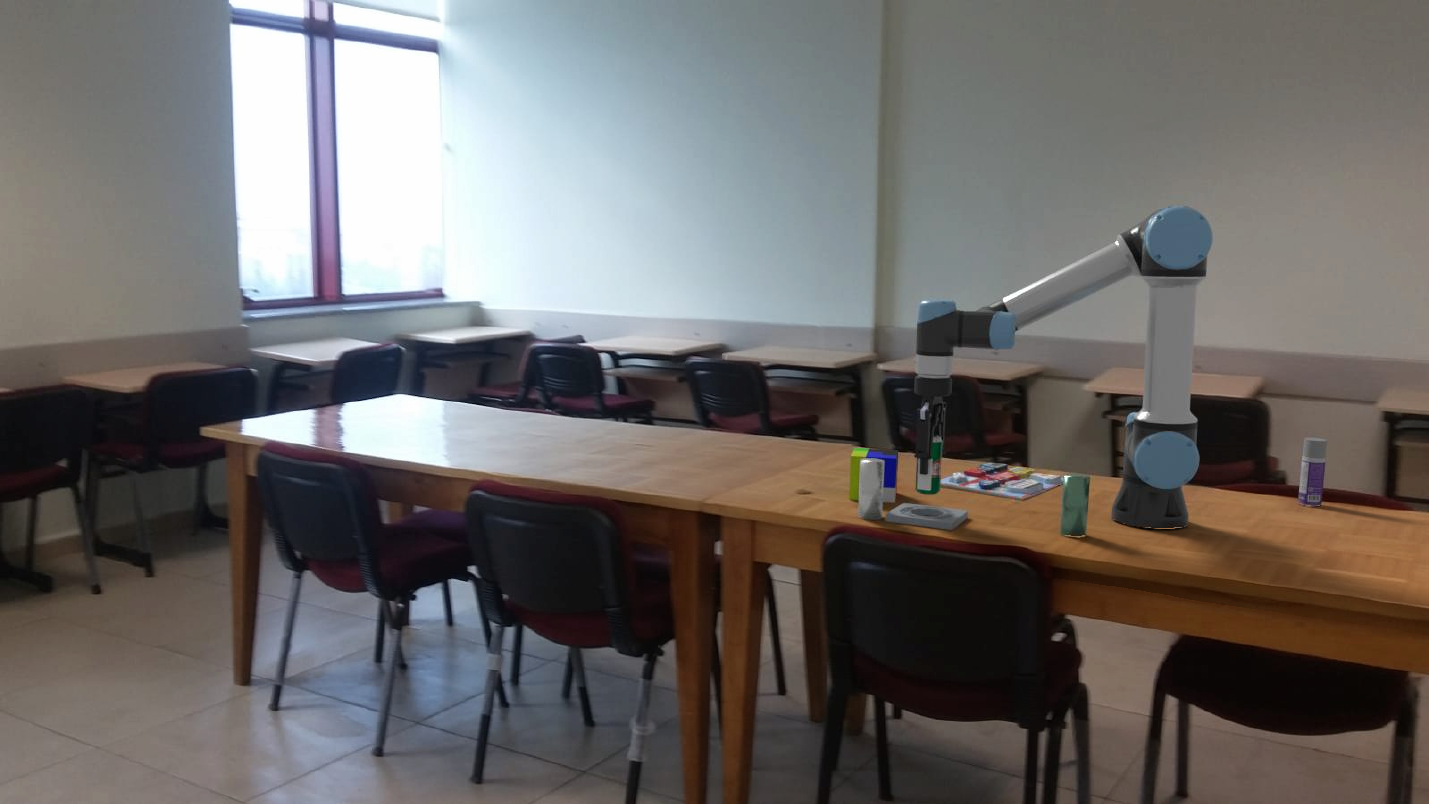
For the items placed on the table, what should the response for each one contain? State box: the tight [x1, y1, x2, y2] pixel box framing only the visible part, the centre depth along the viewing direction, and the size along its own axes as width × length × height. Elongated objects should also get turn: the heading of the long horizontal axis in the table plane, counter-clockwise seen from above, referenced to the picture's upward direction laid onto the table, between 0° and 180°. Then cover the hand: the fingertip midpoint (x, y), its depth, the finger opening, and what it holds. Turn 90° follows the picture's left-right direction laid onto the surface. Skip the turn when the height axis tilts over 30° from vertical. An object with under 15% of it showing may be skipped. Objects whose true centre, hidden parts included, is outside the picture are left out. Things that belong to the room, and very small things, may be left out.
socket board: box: [884, 502, 969, 531], centre depth 238 cm, size 14×12×2 cm
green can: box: [1059, 472, 1091, 536], centre depth 227 cm, size 5×5×12 cm
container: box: [1297, 437, 1328, 506], centre depth 257 cm, size 5×5×15 cm
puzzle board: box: [940, 462, 1063, 501], centre depth 276 cm, size 30×23×3 cm
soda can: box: [915, 434, 943, 496], centre depth 236 cm, size 5×5×12 cm
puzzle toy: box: [848, 447, 899, 504], centre depth 258 cm, size 10×10×10 cm
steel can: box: [857, 458, 884, 521], centre depth 238 cm, size 5×5×12 cm
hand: (928, 486), depth 237 cm, fingers closed on soda can, 5 cm apart
